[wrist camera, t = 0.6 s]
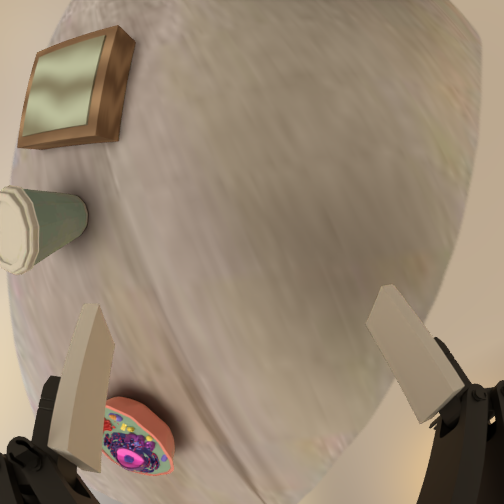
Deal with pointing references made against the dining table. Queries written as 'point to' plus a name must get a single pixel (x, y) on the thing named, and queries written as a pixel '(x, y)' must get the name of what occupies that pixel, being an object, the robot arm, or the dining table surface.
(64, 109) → the walnut stand
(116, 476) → the dining table surface
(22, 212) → the disposable coffee cup
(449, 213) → the dining table surface
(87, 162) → the dining table surface
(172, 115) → the dining table surface
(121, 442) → the cell model
